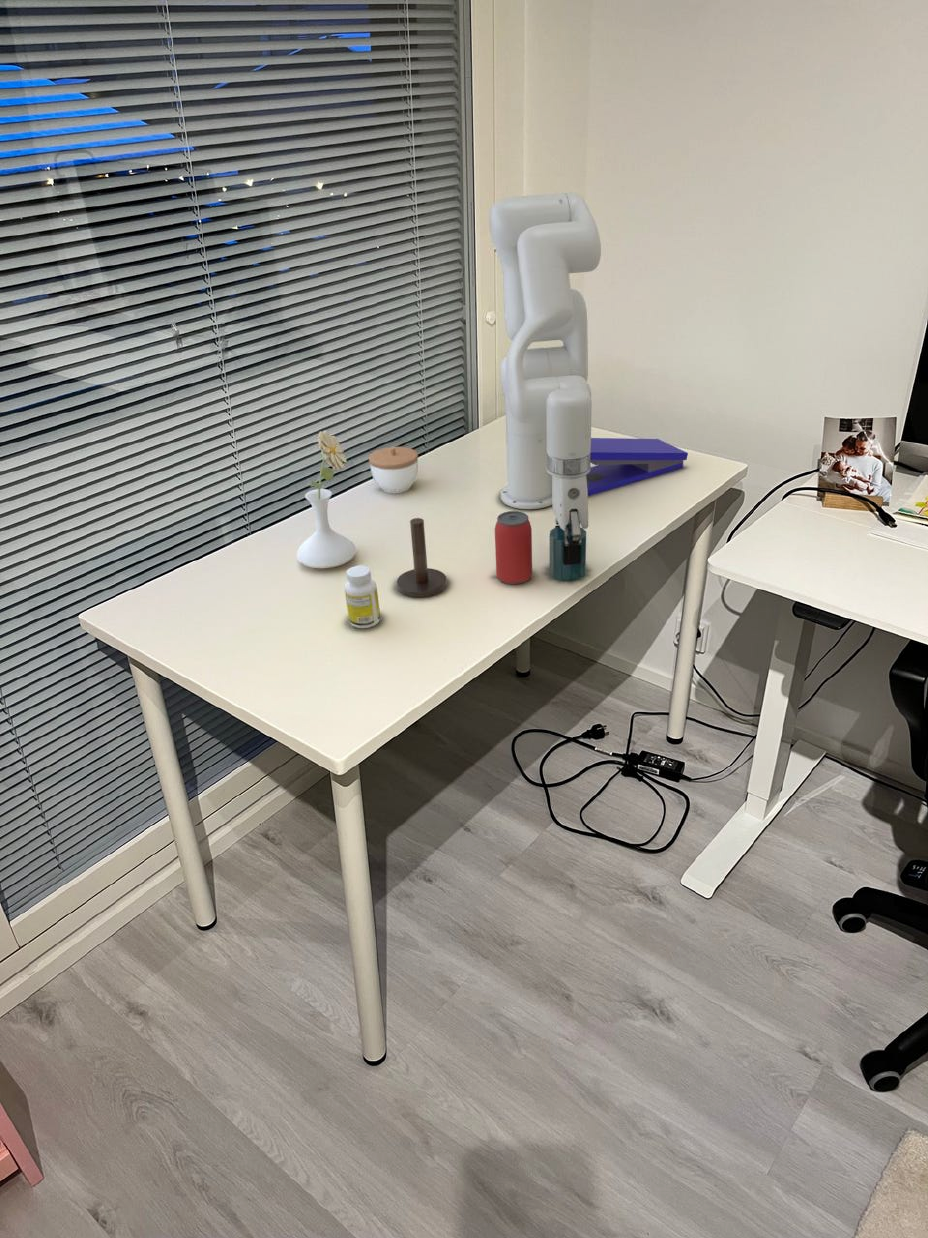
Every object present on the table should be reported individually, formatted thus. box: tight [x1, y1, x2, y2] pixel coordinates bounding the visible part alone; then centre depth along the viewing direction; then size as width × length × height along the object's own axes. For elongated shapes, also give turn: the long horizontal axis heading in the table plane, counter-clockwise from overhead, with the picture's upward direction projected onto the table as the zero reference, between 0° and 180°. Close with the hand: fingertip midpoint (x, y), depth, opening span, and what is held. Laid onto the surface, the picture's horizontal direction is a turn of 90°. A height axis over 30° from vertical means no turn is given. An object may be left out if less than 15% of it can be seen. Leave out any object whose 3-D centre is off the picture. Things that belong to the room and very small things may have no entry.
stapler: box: [586, 437, 689, 497], centre depth 210 cm, size 12×28×10 cm, turn 119°
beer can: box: [494, 510, 533, 585], centre depth 172 cm, size 7×7×12 cm
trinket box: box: [368, 446, 419, 495], centre depth 210 cm, size 11×11×9 cm
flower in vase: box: [296, 429, 357, 569], centre depth 179 cm, size 13×11×25 cm
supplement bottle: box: [344, 565, 381, 629], centre depth 162 cm, size 5×5×10 cm
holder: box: [396, 517, 448, 599], centre depth 171 cm, size 9×9×13 cm
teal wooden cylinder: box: [549, 525, 587, 582], centre depth 174 cm, size 6×6×8 cm
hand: (567, 553), depth 174 cm, fingers closed on teal wooden cylinder, 6 cm apart
